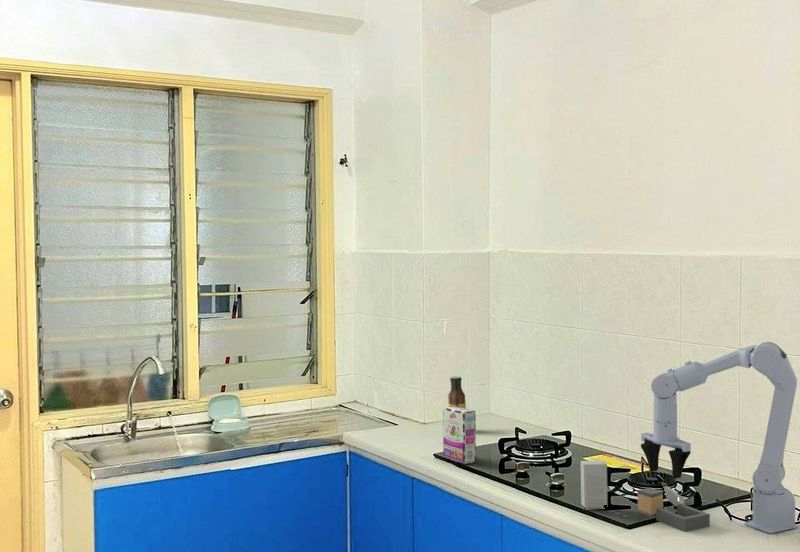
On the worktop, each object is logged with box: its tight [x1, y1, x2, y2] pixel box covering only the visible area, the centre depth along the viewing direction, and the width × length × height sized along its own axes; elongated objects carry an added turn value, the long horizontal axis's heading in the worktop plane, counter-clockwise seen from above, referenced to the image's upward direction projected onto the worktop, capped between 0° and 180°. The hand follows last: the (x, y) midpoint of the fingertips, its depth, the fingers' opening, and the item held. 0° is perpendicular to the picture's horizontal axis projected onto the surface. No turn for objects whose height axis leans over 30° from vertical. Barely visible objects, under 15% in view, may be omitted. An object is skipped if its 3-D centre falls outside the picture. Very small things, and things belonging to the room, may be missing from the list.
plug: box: [637, 487, 664, 514], centre depth 228 cm, size 4×4×6 cm
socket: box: [655, 504, 711, 533], centre depth 220 cm, size 10×12×3 cm
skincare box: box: [580, 459, 608, 508], centre depth 232 cm, size 6×4×12 cm
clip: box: [660, 482, 685, 508], centre depth 232 cm, size 14×2×4 cm, turn 4°
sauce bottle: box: [447, 375, 467, 409], centre depth 323 cm, size 7×6×20 cm
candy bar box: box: [442, 406, 477, 462], centre depth 282 cm, size 11×5×16 cm, turn 33°
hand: (665, 474), depth 226 cm, fingers open, 7 cm apart
